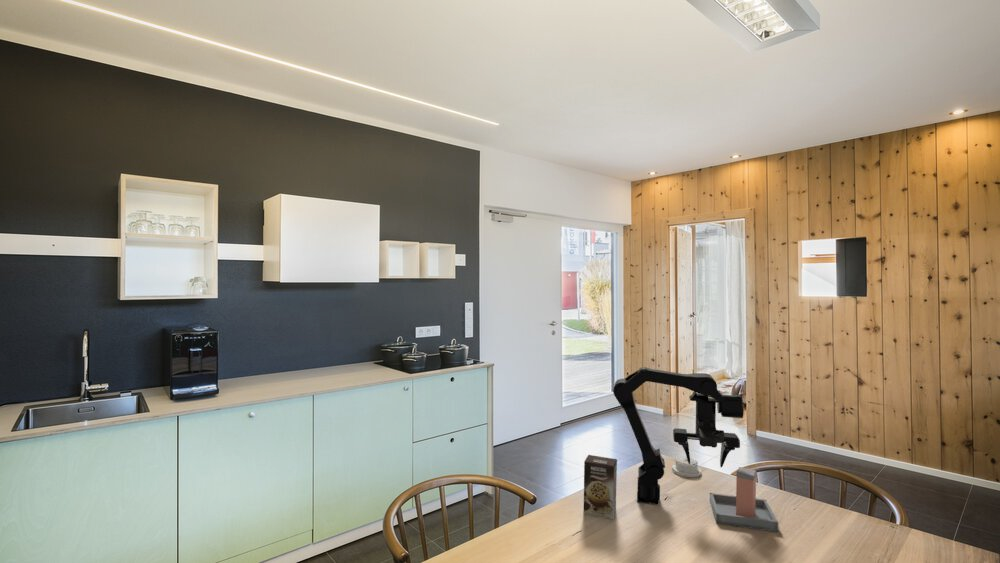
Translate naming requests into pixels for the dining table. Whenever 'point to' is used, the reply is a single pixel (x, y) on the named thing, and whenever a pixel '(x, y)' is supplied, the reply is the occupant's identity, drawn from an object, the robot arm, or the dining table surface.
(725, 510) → the tray
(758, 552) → the dining table surface
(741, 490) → the pink and gray block
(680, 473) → the white round piece
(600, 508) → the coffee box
